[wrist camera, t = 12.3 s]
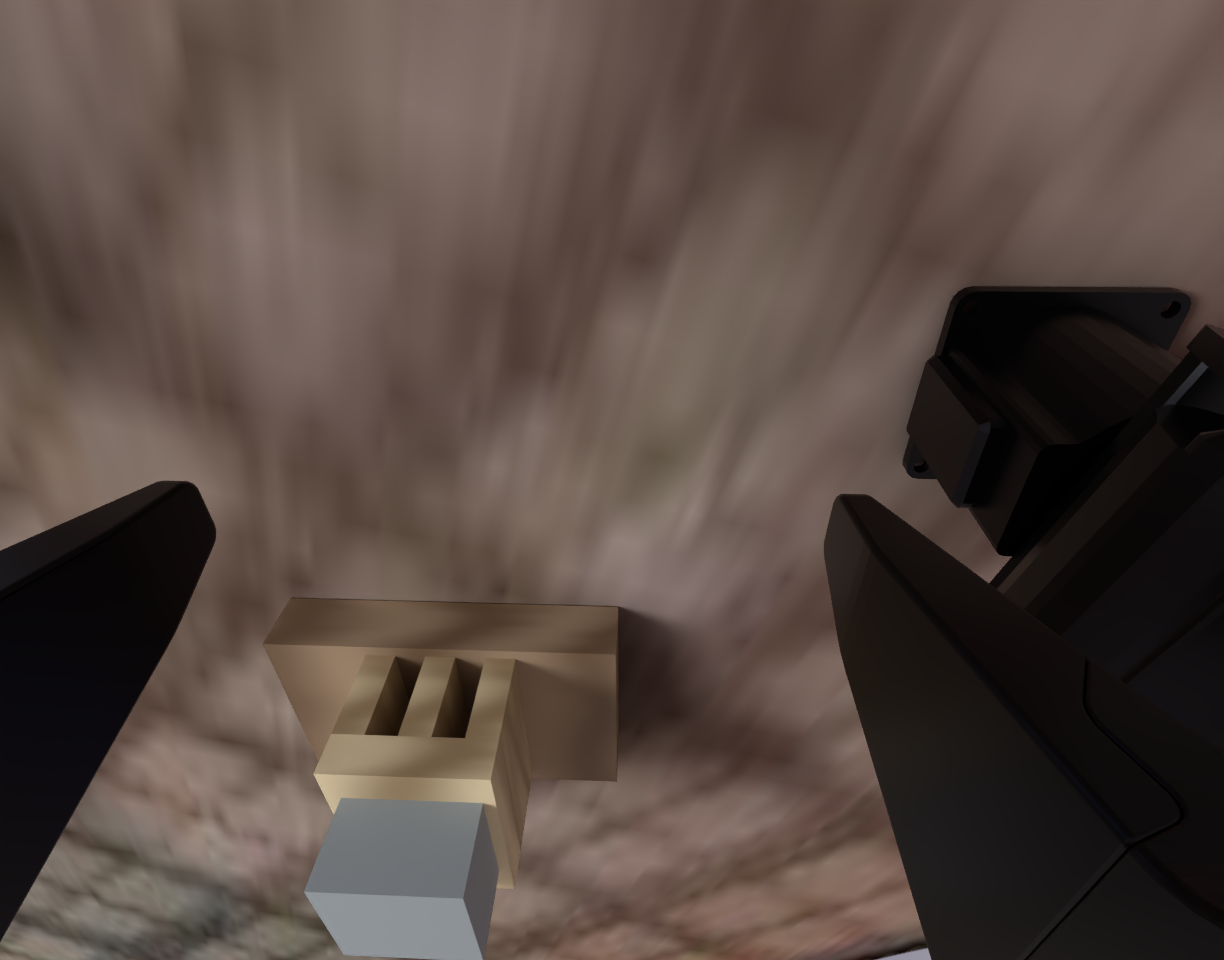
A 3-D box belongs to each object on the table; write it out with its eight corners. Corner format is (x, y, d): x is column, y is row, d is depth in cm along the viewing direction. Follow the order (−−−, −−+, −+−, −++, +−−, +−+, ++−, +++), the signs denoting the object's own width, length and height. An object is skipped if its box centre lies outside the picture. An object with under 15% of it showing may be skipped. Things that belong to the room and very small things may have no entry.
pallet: (515, 658, 26) (490, 779, 22) (532, 771, 30) (514, 888, 26) (365, 655, 26) (313, 773, 22) (405, 767, 31) (368, 882, 27)
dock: (618, 606, 27) (615, 654, 25) (618, 733, 33) (616, 781, 31) (290, 598, 28) (262, 644, 26) (342, 724, 33) (322, 770, 31)
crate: (483, 803, 23) (463, 898, 20) (499, 870, 25) (483, 961, 23) (340, 797, 23) (303, 891, 20) (372, 865, 26) (344, 954, 23)
